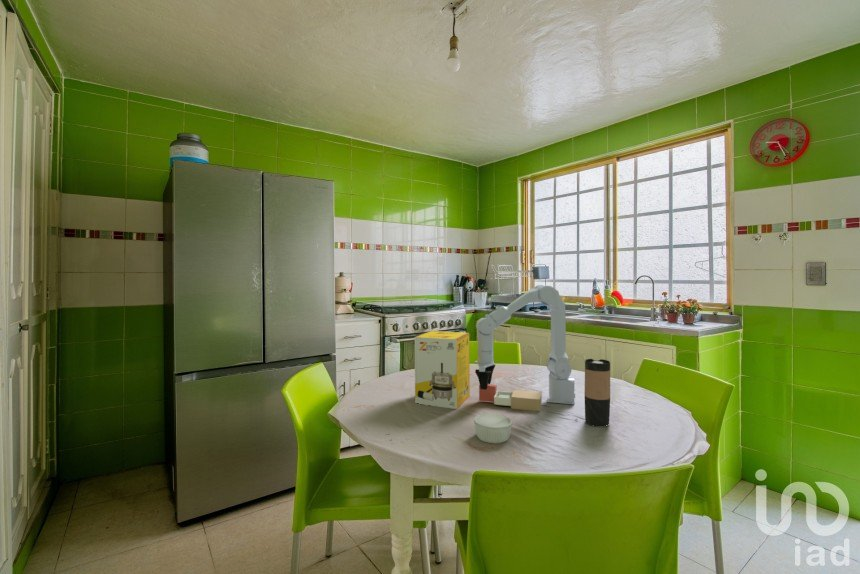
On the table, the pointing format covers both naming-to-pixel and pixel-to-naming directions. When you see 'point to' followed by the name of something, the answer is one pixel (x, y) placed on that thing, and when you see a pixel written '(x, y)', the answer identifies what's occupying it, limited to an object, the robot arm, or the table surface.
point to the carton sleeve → (526, 400)
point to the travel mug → (597, 392)
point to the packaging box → (442, 369)
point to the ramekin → (493, 427)
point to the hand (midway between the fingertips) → (485, 386)
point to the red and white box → (495, 395)
